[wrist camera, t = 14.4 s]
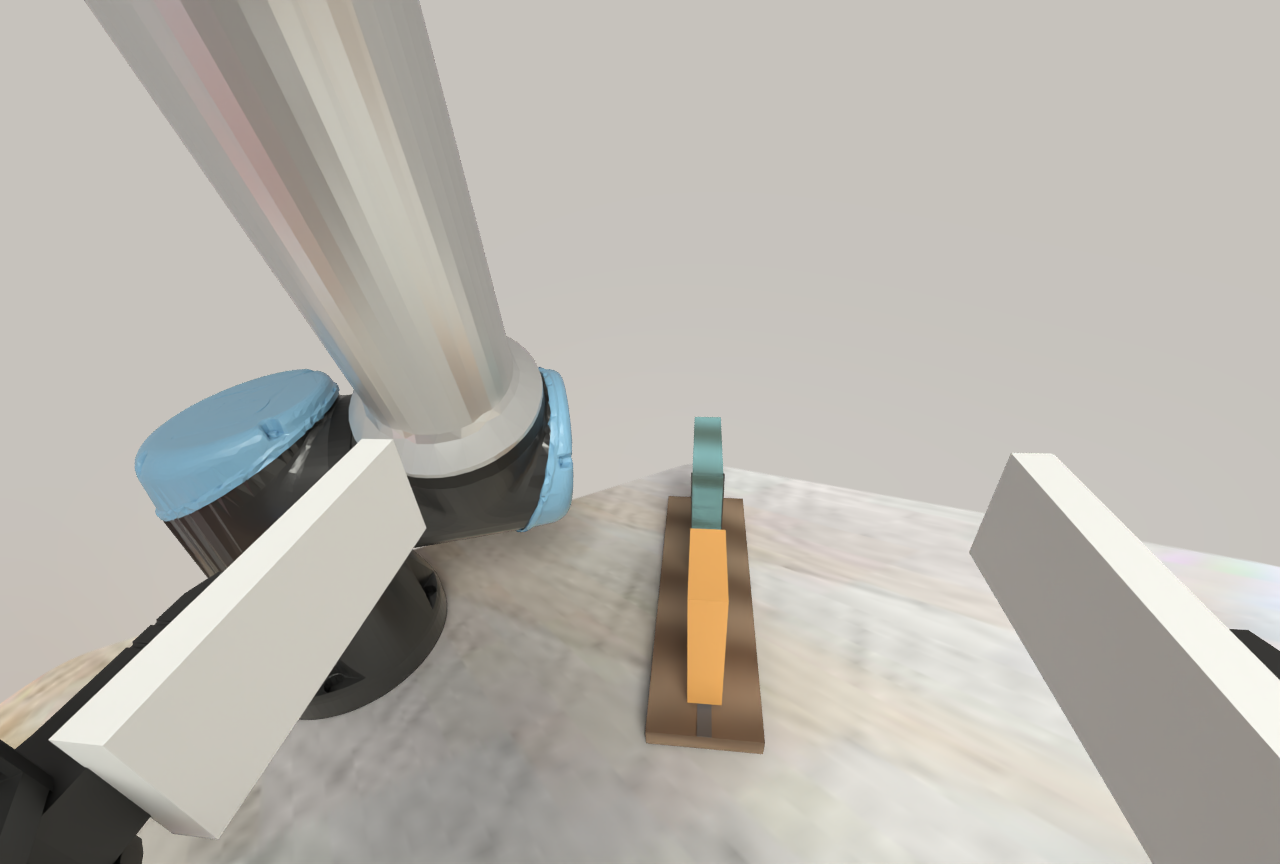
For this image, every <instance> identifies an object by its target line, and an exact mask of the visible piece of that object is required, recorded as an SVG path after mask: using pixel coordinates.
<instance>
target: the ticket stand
mask: <svg viewBox="0 0 1280 864" xmlns="http://www.w3.org/2000/svg"><path fill="white" fill-rule="evenodd" d="M694 426H695V427H694V451H693V473H691V497H675V496H669V498H668V508H667V518H666V528H665V539H664V549H663V559H662V569H661V579H660V589H659V599H658V609H657V619H656V629H655V639H654V649H653V659H652V669H651V680H650V690H649V700H648V710H647V720H646V730H645V734H646V743H651V744H662V745H672V746H683V747H694V748H704V749H715V750H725V751H736V752H747V753H757V754H763V750H764V744H765V740H764V729H763V718H762V707H761V696H760V685H759V674H758V663H757V652H756V641H755V630H754V619H753V608H752V597H751V586H750V575H749V564H748V553H747V541H746V530H745V519H744V508H743V499H734V498H723V497H724V478H725V475H724V473H723V459H722V436H721V418H720V417H695V425H694ZM690 528H693V529H717V530H726V551H727V574H728V597H729V605H728V620H727V634H726V649H725V664H724V678H723V693H722V705H711V704H699V703H687V611H688V575H689V550H690Z"/></svg>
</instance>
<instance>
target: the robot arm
mask: <svg viewBox="0 0 1280 864" xmlns="http://www.w3.org/2000/svg"><path fill="white" fill-rule="evenodd" d="M84 1H85V2H86V4H87V5H88V6H89V8H90V9H91V11H92V12H93V14H94V15H95V17H96V18H97V19H98V21H99V22H100V23H101V25H102V27H103V28H104V30H105V31H106V32H107V34H108V35H109V37H110V38H111V40H112V41H113V43H114V44H115V45H116V47H117V48H118V50H119V51H120V53H121V54H122V55H123V57H124V58H125V60H126V61H127V63H128V64H129V66H130V67H131V68H132V70H133V71H134V73H135V74H136V76H137V77H138V79H139V80H140V81H141V83H142V84H143V86H144V87H145V88H146V90H147V91H148V93H149V94H150V96H151V97H152V99H153V100H154V102H155V103H156V105H157V106H158V107H159V109H160V110H161V112H162V113H163V115H164V116H165V118H166V119H167V120H168V122H169V123H170V125H171V126H172V127H173V129H174V130H175V132H176V133H177V135H178V136H179V137H180V139H181V141H182V142H183V143H184V145H185V146H186V148H187V149H188V150H189V152H190V153H191V155H192V156H193V158H194V159H195V161H196V162H197V164H198V165H199V167H200V168H201V169H202V171H203V172H204V174H205V175H206V177H207V178H208V179H209V181H210V182H211V184H212V185H213V187H214V188H215V190H216V191H217V192H218V194H219V195H220V197H221V198H222V200H223V201H224V203H225V204H226V205H227V207H228V208H229V210H230V211H231V213H232V214H233V216H234V217H235V218H236V220H237V221H238V223H239V224H240V226H241V227H242V228H243V230H244V231H245V233H246V234H247V236H248V237H249V239H250V240H251V242H252V243H253V244H254V246H255V247H256V249H257V250H258V252H259V253H260V254H261V256H262V257H263V259H264V260H265V262H266V263H267V265H268V266H269V267H270V269H271V270H272V272H273V273H274V274H275V276H276V278H277V279H278V280H279V282H280V283H281V285H282V286H283V288H284V289H285V291H286V292H287V293H288V295H289V296H290V298H291V299H292V301H293V302H294V304H295V305H296V306H297V308H298V309H299V311H300V312H301V314H302V315H303V316H304V318H305V319H306V321H307V322H308V324H309V325H310V327H311V328H312V329H313V331H314V332H315V334H316V335H317V336H318V338H319V340H320V341H321V342H322V344H323V345H324V347H325V348H326V350H327V351H328V353H329V354H330V355H331V357H332V358H333V360H334V361H335V362H336V364H337V366H338V367H339V368H340V370H341V371H342V373H343V374H344V376H345V377H346V379H347V380H348V381H349V383H350V384H351V386H352V387H353V389H354V391H353V394H352V395H339V387H338V385H337V383H335V382H333V381H332V379H331V378H330V377H329V376H328V375H327V374H325V373H323V372H321V371H312V370H309V369H302V370H292V371H285V372H280V373H276V374H271V375H268V376H264V377H260V378H257V379H254V380H251V381H248V382H245V383H242V384H239V385H236V386H234V387H231V388H229V389H226V390H224V391H221V392H219V393H217V394H215V395H212V396H211V397H208V398H206V399H204V400H202V401H200V402H198V403H196V404H194V405H193V406H190V407H189V408H187V409H185V410H184V411H182V412H180V413H179V414H177V415H176V416H174V417H172V418H171V419H170V420H168V421H167V422H165V423H164V424H163V425H161V426H160V427H159V428H158V429H156V430H155V431H154V432H153V433H152V434H151V435H150V436H149V437H148V438H147V439H146V440H145V441H144V443H143V444H142V446H141V447H140V449H139V451H138V453H137V455H136V459H135V471H136V475H137V477H138V479H139V481H140V482H141V484H142V486H143V487H144V489H145V490H146V492H147V494H148V495H149V497H150V499H151V500H152V502H153V503H154V505H155V507H156V511H155V512H156V515H157V516H158V517H159V518H160V519H161V520H163V521H164V523H165V524H166V525H167V527H168V528H169V529H170V530H171V532H172V533H173V534H174V536H175V537H176V538H177V539H178V541H179V542H180V543H181V544H182V546H183V547H184V548H185V550H186V551H187V552H188V553H189V555H190V556H191V557H192V559H193V560H194V561H195V562H196V564H197V565H198V566H199V567H200V569H201V570H202V571H203V573H204V574H205V575H206V576H207V578H208V579H206V580H205V581H203V582H202V583H200V584H199V585H197V586H196V587H194V588H192V589H191V590H189V591H188V592H186V593H185V594H184V595H183V596H181V597H180V598H179V599H178V600H177V601H176V602H175V603H174V604H173V605H172V606H171V607H170V608H169V609H167V610H166V611H165V612H164V613H163V614H162V615H161V616H160V617H159V618H158V619H157V623H156V624H155V625H150V626H149V627H148V628H147V629H146V630H145V631H144V632H143V633H142V634H140V635H139V636H138V637H137V638H136V639H135V640H134V641H133V645H132V647H130V648H125V649H124V650H123V651H122V652H121V653H120V654H119V655H118V656H117V657H116V658H115V659H114V660H112V661H111V662H110V663H109V664H108V665H107V666H106V667H105V668H104V669H103V670H102V671H101V672H100V673H98V674H97V675H96V676H95V677H94V678H93V679H92V680H91V681H90V682H89V683H88V684H87V685H86V686H84V687H83V688H82V689H81V690H80V691H79V692H78V693H77V694H76V695H75V696H74V697H73V698H72V699H70V700H69V701H68V702H67V703H66V704H65V705H64V706H63V707H62V708H61V709H60V710H59V711H58V712H56V713H55V714H54V715H53V716H52V717H51V718H50V719H49V720H48V721H47V722H46V723H45V724H44V725H42V726H41V727H40V728H39V729H38V730H37V731H36V732H35V733H34V734H33V735H32V736H30V737H29V738H28V739H27V740H26V741H24V742H23V743H22V744H21V745H20V746H18V747H17V748H16V749H13V748H12V747H10V746H9V745H8V744H6V743H5V742H3V741H2V740H0V864H142V858H143V847H142V839H141V838H139V837H138V836H137V835H136V834H137V833H138V832H139V830H140V829H141V828H142V827H143V825H144V824H145V823H146V821H147V820H148V819H149V818H150V817H151V818H153V819H154V820H155V821H157V822H158V823H159V824H161V825H162V826H163V827H165V828H166V829H167V830H169V831H170V832H171V833H173V834H178V835H186V836H194V837H201V838H209V839H217V840H218V839H219V838H220V836H221V835H222V833H223V832H224V830H225V829H226V827H227V826H228V824H229V823H230V821H231V820H232V818H233V817H234V815H235V814H236V812H237V811H238V809H239V808H240V806H241V805H242V803H243V802H244V800H245V799H246V797H247V796H248V794H249V793H250V791H251V790H252V788H253V787H254V785H255V784H256V782H257V781H258V779H259V778H260V776H261V775H262V773H263V772H264V770H265V769H266V767H267V766H268V764H269V763H270V761H271V760H272V758H273V757H274V756H275V754H276V753H277V751H278V750H279V748H280V747H281V745H282V744H283V742H284V741H285V739H286V738H287V736H288V735H289V733H290V732H291V730H292V729H293V727H294V726H295V724H296V723H297V721H298V720H299V719H301V720H313V719H323V718H329V717H333V716H337V715H341V714H344V713H347V712H350V711H352V710H355V709H358V708H360V707H362V706H364V705H366V704H368V703H370V702H372V701H374V700H376V699H378V698H379V697H381V696H383V695H384V694H386V693H387V692H389V691H390V690H392V689H393V688H394V687H396V686H397V685H398V684H400V683H401V682H402V681H403V680H404V679H406V678H407V677H408V676H409V675H410V674H411V673H412V672H413V671H414V670H415V669H416V668H417V667H418V666H419V665H420V664H421V663H422V662H423V660H424V659H425V658H426V657H427V655H428V654H429V653H430V651H431V650H432V648H433V647H434V645H435V643H436V642H437V640H438V638H439V636H440V634H441V631H442V629H443V626H444V623H445V619H446V612H447V602H446V597H445V593H444V591H443V588H442V586H441V583H440V580H439V578H438V576H437V574H436V573H435V571H434V570H433V568H432V567H431V566H430V565H429V564H428V563H427V562H426V561H425V560H424V559H423V558H421V557H420V556H419V555H418V554H417V553H416V552H415V551H414V550H413V548H416V547H422V546H428V545H433V544H439V543H445V542H451V541H457V540H463V539H468V538H474V537H480V536H486V535H492V534H498V533H503V532H509V531H517V532H525V531H528V530H530V529H531V528H532V527H535V526H539V525H544V524H548V523H553V522H556V521H558V520H560V519H561V518H562V517H564V516H565V515H566V513H567V512H568V510H569V508H570V505H571V501H572V493H573V463H572V459H571V455H572V435H571V424H570V415H569V408H568V401H567V395H566V390H565V386H564V382H563V379H562V377H561V375H560V374H559V373H558V372H556V371H554V370H550V369H549V370H546V369H544V368H541V367H539V368H538V367H537V365H536V363H535V361H534V359H533V357H532V356H531V355H530V353H529V352H528V351H527V350H526V349H525V348H524V347H522V346H521V345H520V344H519V343H517V342H516V341H514V340H513V339H511V338H509V337H507V336H506V334H505V330H504V326H503V322H502V318H501V314H500V311H499V307H498V303H497V299H496V295H495V291H494V287H493V284H492V280H491V276H490V272H489V268H488V264H487V261H486V257H485V253H484V249H483V245H482V241H481V238H480V233H479V230H478V226H477V222H476V218H475V214H474V210H473V207H472V203H471V199H470V195H469V191H468V187H467V184H466V179H465V176H464V172H463V168H462V164H461V160H460V156H459V152H458V149H457V145H456V141H455V137H454V133H453V129H452V126H451V122H450V118H449V114H448V110H447V106H446V102H445V99H444V95H443V91H442V87H441V83H440V79H439V75H438V72H437V68H436V64H435V60H434V56H433V52H432V48H431V44H430V41H429V37H428V33H427V29H426V26H425V22H424V18H423V14H422V10H421V6H420V2H419V0H84ZM969 553H970V555H971V556H972V558H973V560H974V561H975V563H976V565H977V567H978V568H979V570H980V572H981V573H982V575H983V577H984V578H985V580H986V582H987V584H988V585H989V587H990V589H991V590H992V592H993V594H994V595H995V597H996V599H997V600H998V602H999V604H1000V606H1001V607H1002V609H1003V611H1004V612H1005V614H1006V616H1007V617H1008V619H1009V621H1010V623H1011V624H1012V626H1013V628H1014V629H1015V631H1016V633H1017V634H1018V636H1019V638H1020V639H1021V641H1022V643H1023V645H1024V646H1025V648H1026V650H1027V651H1028V653H1029V655H1030V656H1031V658H1032V660H1033V662H1034V663H1035V665H1036V667H1037V668H1038V670H1039V672H1040V673H1041V675H1042V677H1043V679H1044V680H1045V682H1046V684H1047V685H1048V687H1049V689H1050V690H1051V692H1052V694H1053V695H1054V697H1055V699H1056V701H1057V702H1058V704H1059V706H1060V707H1061V709H1062V711H1063V712H1064V714H1065V716H1066V718H1067V719H1068V721H1069V723H1070V724H1071V726H1072V728H1073V729H1074V731H1075V733H1076V734H1077V736H1078V738H1079V740H1080V741H1081V743H1082V745H1083V746H1084V748H1085V750H1086V751H1087V753H1088V755H1089V757H1090V758H1091V760H1092V762H1093V763H1094V765H1095V767H1096V768H1097V770H1098V772H1099V774H1100V775H1101V777H1102V779H1103V780H1104V782H1105V784H1106V785H1107V787H1108V789H1109V790H1110V792H1111V794H1112V796H1113V797H1114V799H1115V801H1116V802H1117V804H1118V806H1119V807H1120V809H1121V811H1122V813H1123V814H1124V816H1125V818H1126V819H1127V821H1128V823H1129V824H1130V826H1131V828H1132V829H1133V831H1134V833H1135V835H1136V836H1137V838H1138V840H1139V841H1140V843H1141V845H1142V846H1143V848H1144V850H1145V852H1146V853H1147V855H1148V857H1149V858H1150V860H1151V862H1152V863H1153V864H1280V651H1279V650H1277V649H1276V648H1274V647H1273V646H1271V645H1270V644H1268V643H1267V642H1265V641H1264V640H1262V639H1261V638H1259V637H1258V636H1256V635H1255V634H1253V633H1252V632H1250V631H1249V630H1237V629H1228V628H1227V627H1226V626H1225V625H1224V624H1223V623H1222V622H1221V621H1220V620H1219V619H1218V618H1217V617H1216V616H1215V615H1214V614H1213V613H1212V612H1211V611H1210V610H1209V609H1208V608H1207V607H1206V606H1205V605H1204V604H1203V603H1202V602H1201V601H1200V600H1199V599H1198V598H1197V597H1196V596H1195V595H1194V594H1193V593H1192V592H1191V591H1190V590H1189V589H1188V588H1187V587H1186V586H1185V585H1184V584H1183V583H1182V582H1181V581H1180V580H1179V579H1178V578H1177V577H1176V576H1175V575H1174V574H1173V573H1172V572H1171V571H1170V570H1169V569H1168V568H1167V567H1166V566H1165V565H1164V564H1163V563H1162V562H1161V561H1160V560H1159V559H1158V558H1157V557H1156V556H1155V555H1154V554H1153V553H1152V552H1151V551H1150V550H1149V549H1148V548H1147V547H1146V546H1145V545H1144V544H1143V543H1142V542H1141V541H1140V540H1139V539H1138V538H1137V537H1136V536H1135V535H1134V534H1133V533H1132V532H1131V531H1130V530H1129V529H1128V528H1127V527H1126V526H1125V525H1124V524H1123V523H1122V522H1121V521H1120V520H1119V519H1118V518H1117V517H1116V516H1115V515H1114V514H1113V513H1112V512H1111V511H1110V510H1109V509H1108V508H1107V507H1106V506H1105V505H1104V504H1103V503H1102V502H1101V501H1100V500H1099V499H1098V498H1097V497H1096V496H1095V495H1094V494H1093V493H1092V492H1091V491H1090V490H1089V489H1088V488H1087V487H1086V486H1085V485H1084V484H1083V483H1082V482H1081V481H1080V480H1079V479H1078V478H1077V477H1076V476H1075V475H1074V474H1073V473H1072V472H1071V471H1070V470H1069V469H1068V468H1067V467H1066V466H1065V465H1064V464H1063V463H1062V462H1061V461H1060V460H1059V459H1058V458H1057V457H1056V456H1055V455H1054V454H1037V453H1035V454H1034V453H1011V454H1010V457H1009V459H1008V462H1007V464H1006V466H1005V469H1004V471H1003V473H1002V476H1001V478H1000V480H999V483H998V485H997V488H996V490H995V492H994V495H993V497H992V500H991V502H990V504H989V506H988V509H987V511H986V513H985V516H984V518H983V521H982V523H981V525H980V528H979V530H978V532H977V535H976V537H975V539H974V542H973V544H972V547H971V549H970V551H969Z"/></svg>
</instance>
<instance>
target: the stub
mask: <svg viewBox="0 0 1280 864" xmlns="http://www.w3.org/2000/svg"><path fill="white" fill-rule="evenodd" d="M728 605H729V597H728V574H727V551H726V530H717V529H693V528H690V550H689V575H688V611H687V703H699V704H711V705H722V693H723V678H724V664H725V649H726V634H727V620H728Z"/></svg>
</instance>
